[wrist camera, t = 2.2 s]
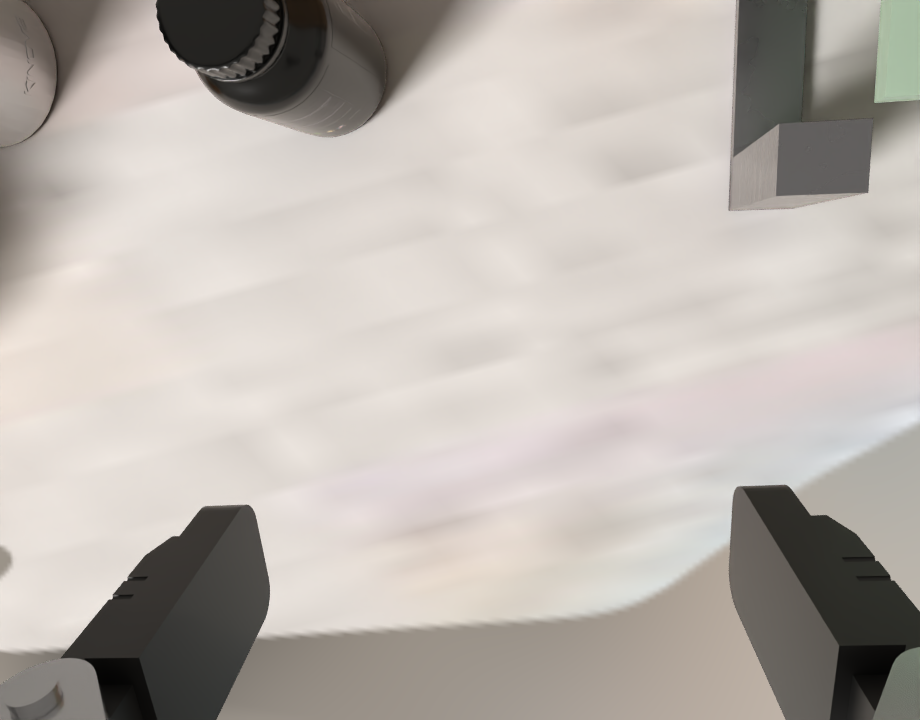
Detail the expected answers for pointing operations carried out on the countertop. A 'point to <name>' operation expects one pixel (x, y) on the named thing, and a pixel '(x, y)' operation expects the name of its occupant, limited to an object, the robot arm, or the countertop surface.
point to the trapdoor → (898, 52)
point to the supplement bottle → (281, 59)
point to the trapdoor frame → (786, 119)
